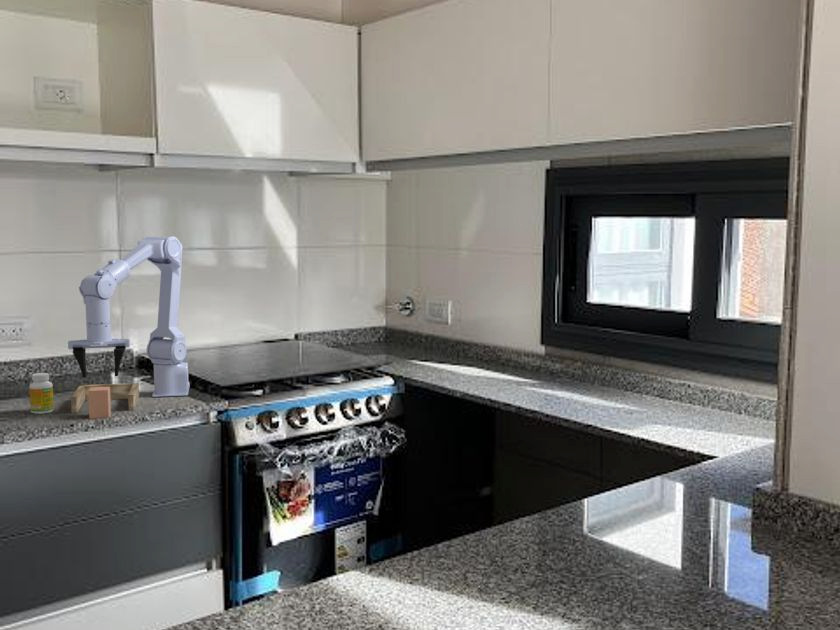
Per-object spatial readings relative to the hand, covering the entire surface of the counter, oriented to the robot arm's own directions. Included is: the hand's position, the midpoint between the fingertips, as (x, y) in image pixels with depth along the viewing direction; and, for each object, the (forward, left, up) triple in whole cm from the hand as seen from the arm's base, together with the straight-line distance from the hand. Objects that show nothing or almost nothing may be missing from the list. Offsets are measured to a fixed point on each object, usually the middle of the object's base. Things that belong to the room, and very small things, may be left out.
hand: (100, 376), depth 221 cm
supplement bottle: (+15, -3, -10) cm, 18 cm away
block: (0, +4, -9) cm, 10 cm away
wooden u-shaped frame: (0, -8, -9) cm, 13 cm away
